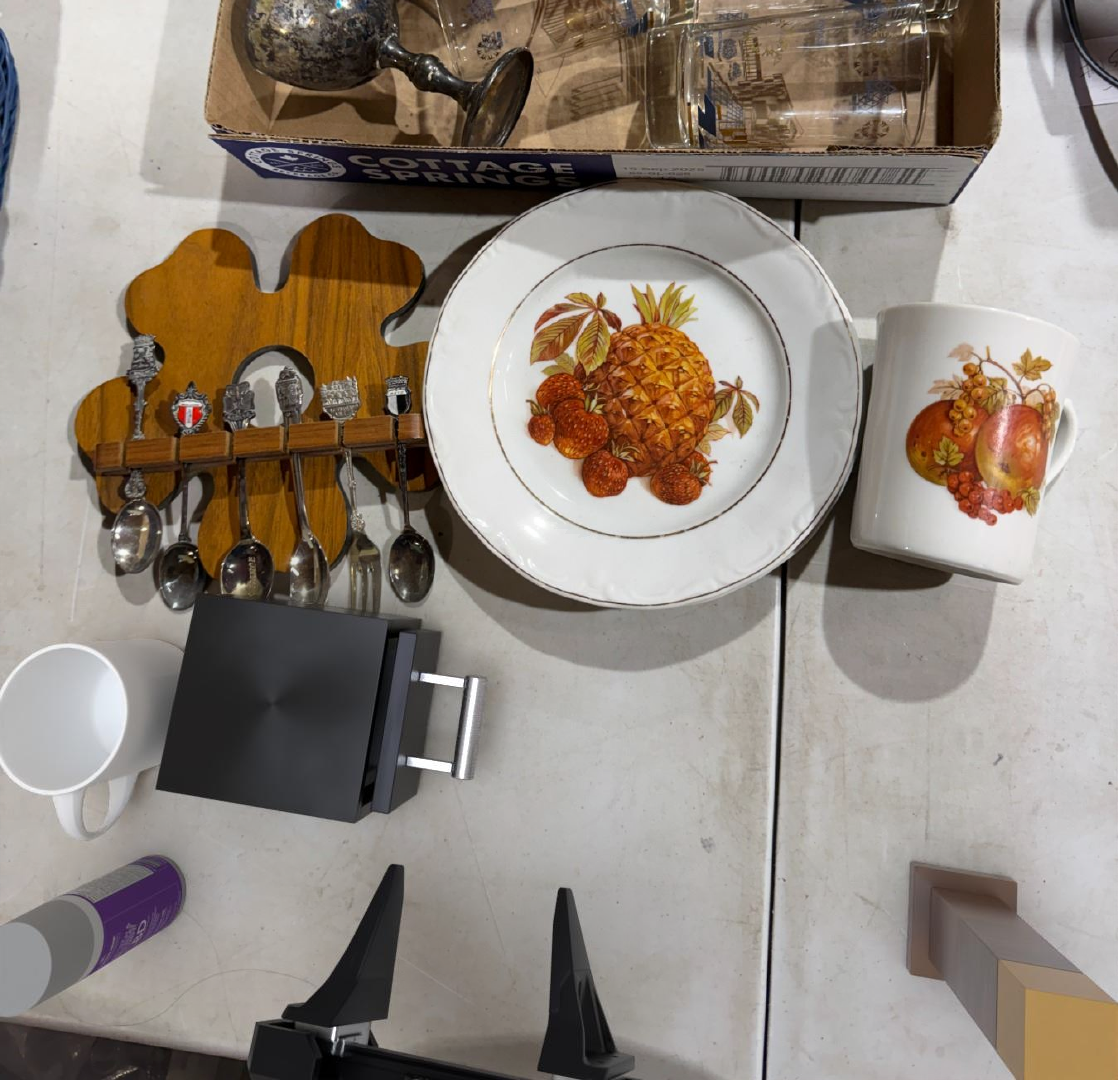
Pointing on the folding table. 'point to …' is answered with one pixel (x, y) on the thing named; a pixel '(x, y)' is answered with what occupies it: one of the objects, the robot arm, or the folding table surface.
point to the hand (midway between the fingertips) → (478, 875)
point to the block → (1055, 1024)
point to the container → (85, 930)
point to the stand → (971, 936)
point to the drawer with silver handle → (417, 720)
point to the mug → (87, 721)
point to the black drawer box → (278, 705)
